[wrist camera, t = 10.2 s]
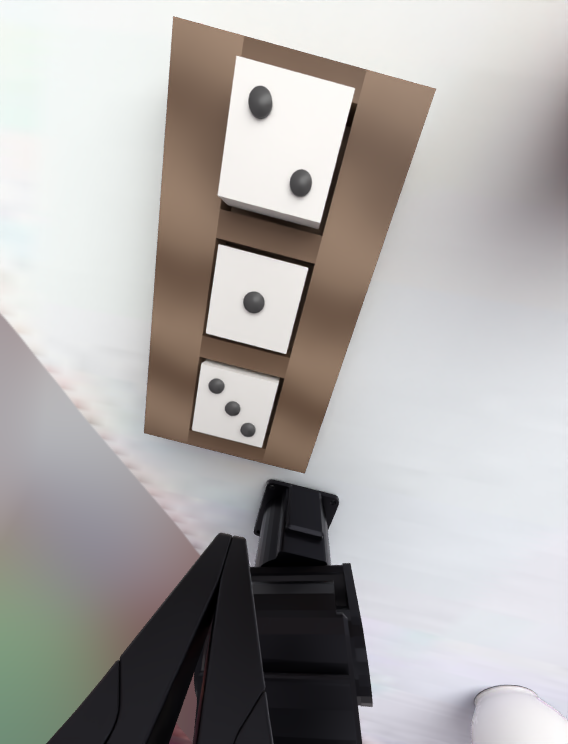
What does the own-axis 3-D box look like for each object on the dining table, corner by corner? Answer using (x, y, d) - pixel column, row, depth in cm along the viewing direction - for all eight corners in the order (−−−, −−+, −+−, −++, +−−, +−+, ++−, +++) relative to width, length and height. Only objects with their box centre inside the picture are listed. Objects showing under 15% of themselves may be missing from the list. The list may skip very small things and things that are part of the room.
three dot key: (265, 433, 20) (261, 449, 18) (201, 417, 20) (190, 431, 18) (280, 373, 18) (278, 384, 16) (210, 355, 18) (200, 364, 16)
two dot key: (318, 229, 14) (320, 222, 12) (228, 205, 14) (216, 194, 12) (348, 113, 13) (356, 84, 11) (245, 86, 12) (235, 51, 11)
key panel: (304, 448, 22) (304, 473, 19) (164, 413, 22) (143, 433, 19) (410, 125, 15) (436, 88, 12) (198, 67, 14) (173, 16, 12)
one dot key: (287, 346, 18) (285, 354, 16) (215, 328, 18) (204, 333, 16) (307, 268, 16) (308, 267, 14) (227, 247, 16) (217, 243, 14)
